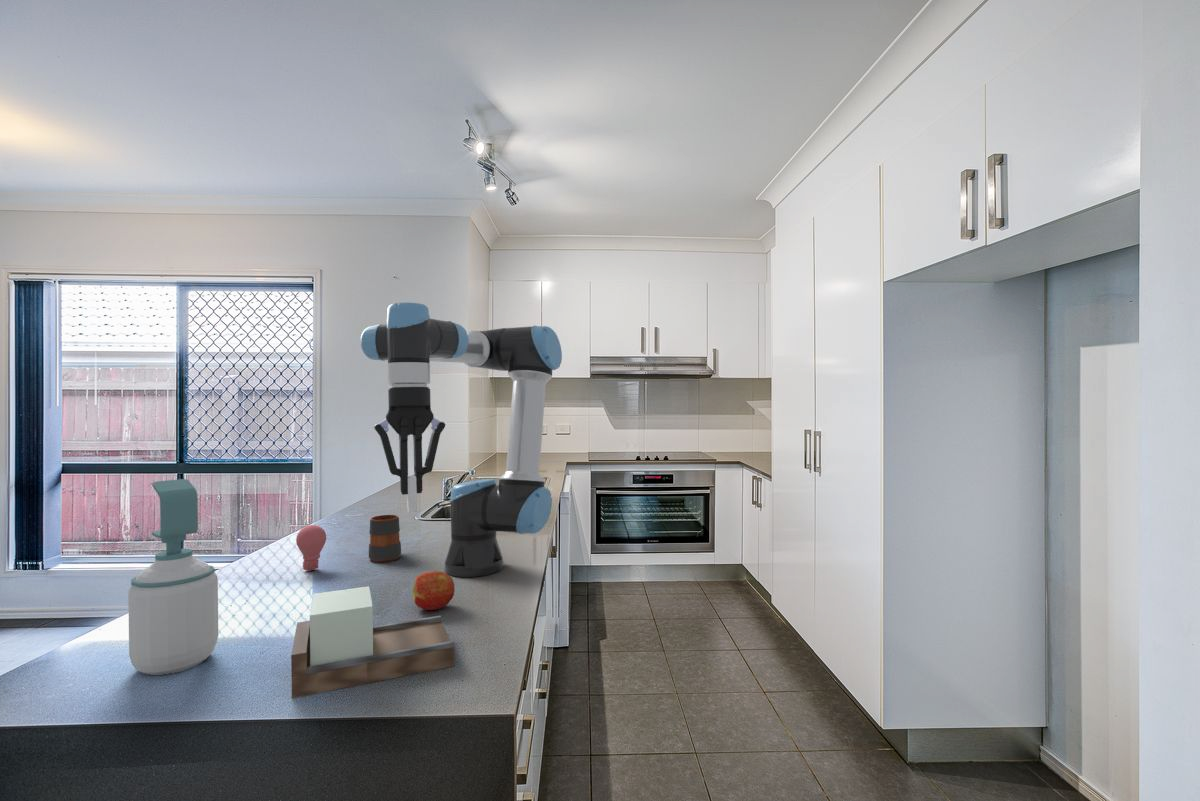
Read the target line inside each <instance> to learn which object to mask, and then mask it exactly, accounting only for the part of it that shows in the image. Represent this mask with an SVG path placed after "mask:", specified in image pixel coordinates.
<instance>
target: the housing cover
mask: <svg viewBox="0 0 1200 801" xmlns="http://www.w3.org/2000/svg"><path fill="white" fill-rule="evenodd" d="M311 595H312V596H311V604H310V611H309V621H310V667H311V666H316V665H322V664H327V663H333V662H338V661H344V660H349V659H355V658H360V657H366V656H371V655H373V626H374V624H373V623H374V622H373V620H374V618H373V614H374V613H373V600H372V595H371V589H370V586H360V587H355V588H354V587H353V588H347V589H340V590H331V591H324V592H318V593H317V592H316V593H312V594H311Z"/></svg>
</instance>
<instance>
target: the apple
mask: <svg viewBox="0 0 1200 801" xmlns="http://www.w3.org/2000/svg"><path fill="white" fill-rule="evenodd" d="M455 591H456V590H455V582H454V580H453V578H452V577H451V575H449V574H447V573H445V571H444V572H443V571H440V570H430V571H429V570H428V571H425V572H423V573H420V574H419V575H418V576H417V577H416V578H415V580H414V583H413V587H412V598H413V601H414V603H415V605H416V606H417V608H420V609H422V610H426V611H435V610H440V609H441V608H444V607H447V605H448V604H450V602H451V600H452V599H453V598H454V596H455Z"/></svg>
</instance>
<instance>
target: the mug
mask: <svg viewBox="0 0 1200 801" xmlns="http://www.w3.org/2000/svg"><path fill="white" fill-rule="evenodd" d="M400 531H401V530H400V518H399V515H397V514H382V515H376V516H373V517H370V519H369V544H368V559H370V562H372V563H389V562H393V561H396V560H398V559H399V558H400V556H401V555H402V544H401V540H400Z"/></svg>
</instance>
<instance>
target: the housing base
mask: <svg viewBox="0 0 1200 801" xmlns="http://www.w3.org/2000/svg"><path fill="white" fill-rule="evenodd" d="M294 634H295V635H294V637H293V643H292V648H291V656H290V659H291V661H290V662H291V665H290V666H291V675H290V676H291V699H296V698H301V697H306V696H310V695H315V694H321V693H325V692H330V691H334V690H341V689H345V688H350V687H355V686H360V685H365V684H370V683H371V684H372V683H376V682H381V681H385V680H390V679H395V678H401V677H404V676H405V677H407V676H410V675H411V676H412V675H415V674H420V673H425V672H431V671H434V670H440V669H445V668H451V667H455V643H454V640H451V639H450V636H449V634H448V631H447V630H446V628H445V625H444V623H443V622H442V615H436V616H430V617H422V618H417V619H411V620H406V621H399V622H393V623H387V624H385V623H384V624H381V625H380V624H379V625H373V655H371V656H366V657H360V658H355V659H349V660H344V661H338V662H333V663H327V664H322V665H316V666H311V667H310V620H305V621H299V622H297V624H296V627H295V632H294Z"/></svg>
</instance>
